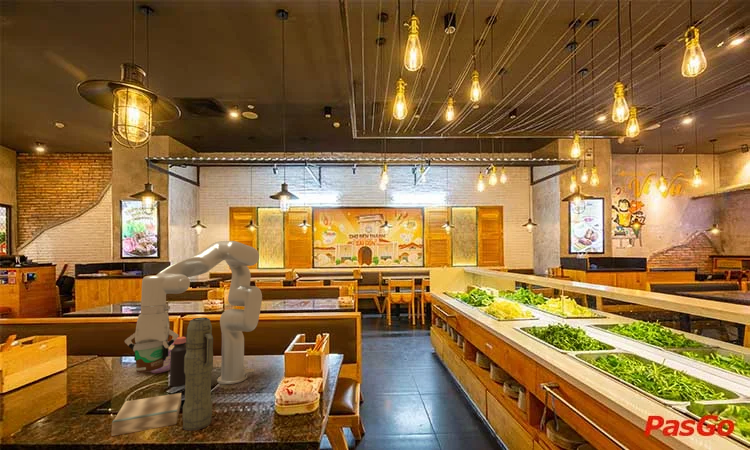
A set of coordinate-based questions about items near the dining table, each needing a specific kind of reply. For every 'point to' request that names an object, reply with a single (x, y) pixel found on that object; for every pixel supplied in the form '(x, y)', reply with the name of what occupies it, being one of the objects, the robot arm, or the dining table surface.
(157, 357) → the food container
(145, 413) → the dock
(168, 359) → the bowl of food
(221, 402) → the dining table surface
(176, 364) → the bottle
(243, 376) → the robot arm
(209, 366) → the thermos
